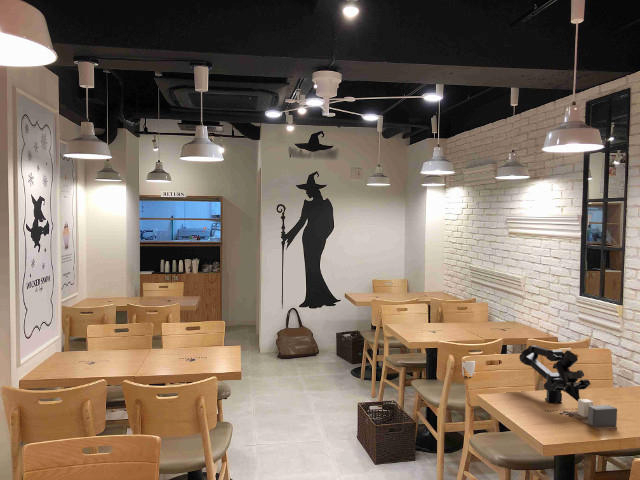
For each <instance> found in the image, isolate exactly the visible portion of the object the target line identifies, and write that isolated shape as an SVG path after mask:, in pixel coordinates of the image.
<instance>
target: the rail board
mask: <svg viewBox="0 0 640 480" xmlns="http://www.w3.org/2000/svg"><path fill="white" fill-rule="evenodd" d="M566 413H567V414H566V415H568V416H570V417H572V418H574V419H576V420H578V421H580V422H581V423H583V424H585V425H587V426H589V427H591V428H592V429H594V430H596V431H612V430H613V431H615V430H618V426H617V425H616V426H607V427H594V426H592V425H591V424H589V423H588V417H583V416H581V415H579V414H578V410H571V411H570V410H569V411H566Z"/></svg>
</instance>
